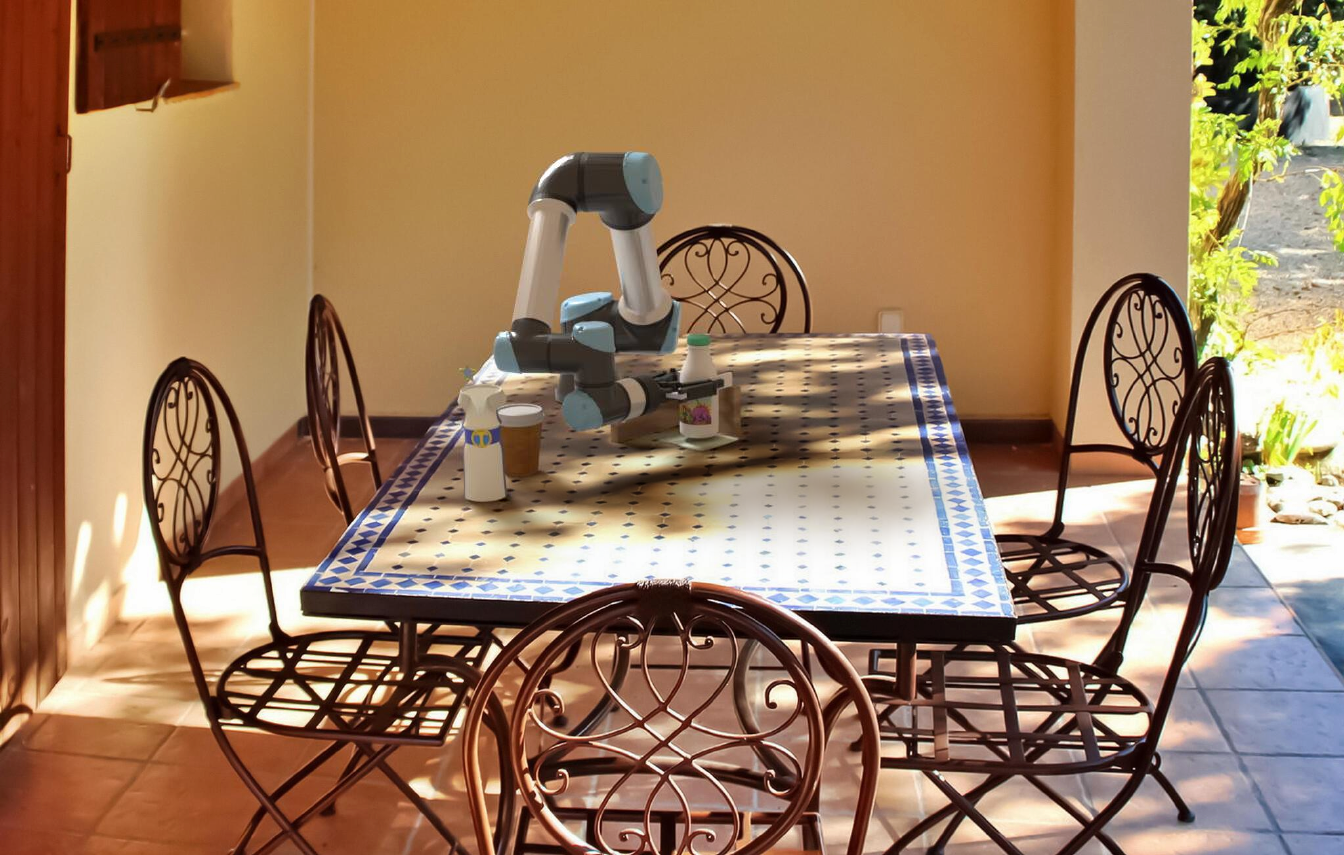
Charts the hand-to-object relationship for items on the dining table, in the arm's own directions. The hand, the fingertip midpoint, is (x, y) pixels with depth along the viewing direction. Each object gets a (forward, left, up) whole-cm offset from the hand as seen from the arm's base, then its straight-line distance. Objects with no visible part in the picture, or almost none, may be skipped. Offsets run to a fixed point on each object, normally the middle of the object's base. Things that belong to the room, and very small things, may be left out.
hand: (715, 375), depth 287 cm
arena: (-4, -6, -12) cm, 15 cm away
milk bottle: (0, -5, -11) cm, 12 cm away
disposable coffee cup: (-11, -42, -13) cm, 45 cm away
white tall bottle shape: (-5, -55, -13) cm, 57 cm away
